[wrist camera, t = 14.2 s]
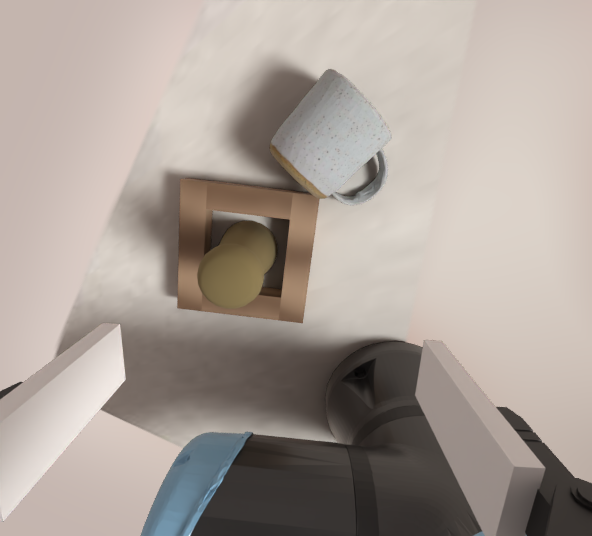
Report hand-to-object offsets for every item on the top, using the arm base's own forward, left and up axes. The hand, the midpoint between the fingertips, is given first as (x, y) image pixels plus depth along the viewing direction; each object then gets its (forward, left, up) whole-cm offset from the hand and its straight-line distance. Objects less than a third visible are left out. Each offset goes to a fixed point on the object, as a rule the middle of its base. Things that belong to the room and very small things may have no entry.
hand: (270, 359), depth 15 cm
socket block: (-1, +4, -22) cm, 22 cm away
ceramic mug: (+10, -3, -22) cm, 25 cm away
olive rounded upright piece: (-1, +4, -22) cm, 23 cm away
